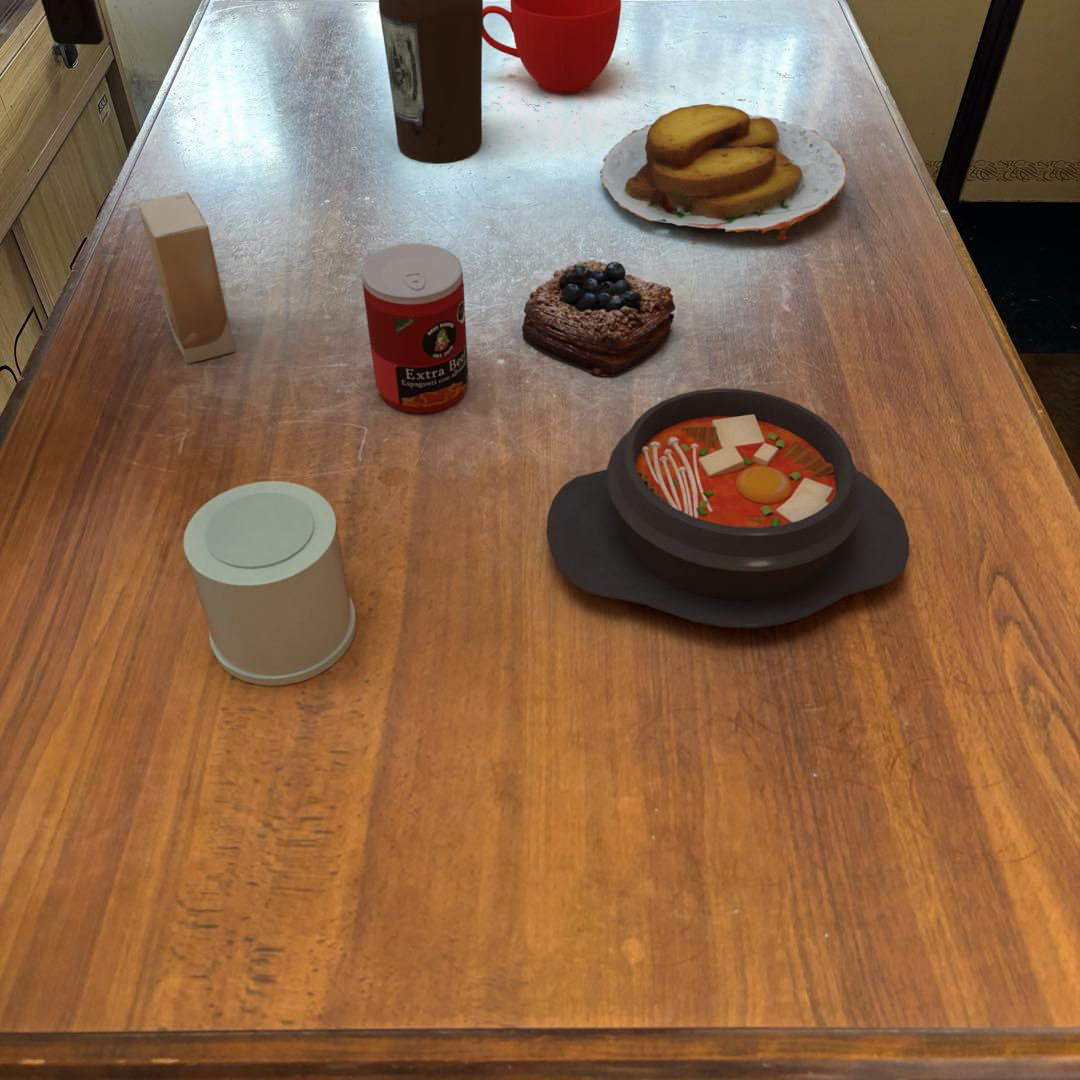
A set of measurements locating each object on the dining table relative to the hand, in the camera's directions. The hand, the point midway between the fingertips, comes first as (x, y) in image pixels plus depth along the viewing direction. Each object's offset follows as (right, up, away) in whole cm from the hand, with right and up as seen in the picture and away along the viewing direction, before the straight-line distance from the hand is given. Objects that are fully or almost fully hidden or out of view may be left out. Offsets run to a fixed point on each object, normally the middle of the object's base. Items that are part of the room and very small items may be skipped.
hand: (104, 15), depth 75 cm
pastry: (+34, -18, +22) cm, 45 cm away
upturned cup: (+13, -42, -3) cm, 44 cm away
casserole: (+42, -36, +3) cm, 56 cm away
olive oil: (+18, +9, +49) cm, 53 cm away
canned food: (+20, -23, +16) cm, 35 cm away
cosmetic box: (0, -19, +21) cm, 28 cm away
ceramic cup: (+31, +20, +61) cm, 71 cm away
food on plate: (+49, +1, +41) cm, 64 cm away
